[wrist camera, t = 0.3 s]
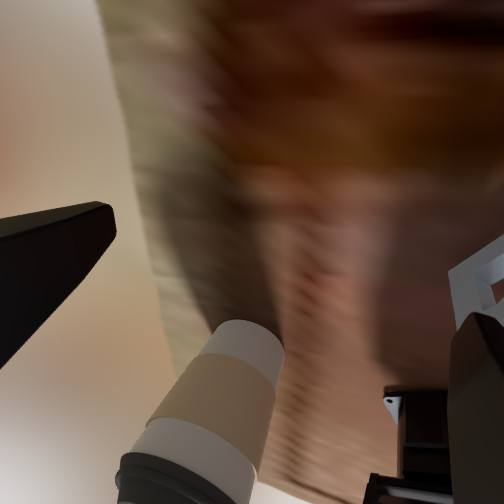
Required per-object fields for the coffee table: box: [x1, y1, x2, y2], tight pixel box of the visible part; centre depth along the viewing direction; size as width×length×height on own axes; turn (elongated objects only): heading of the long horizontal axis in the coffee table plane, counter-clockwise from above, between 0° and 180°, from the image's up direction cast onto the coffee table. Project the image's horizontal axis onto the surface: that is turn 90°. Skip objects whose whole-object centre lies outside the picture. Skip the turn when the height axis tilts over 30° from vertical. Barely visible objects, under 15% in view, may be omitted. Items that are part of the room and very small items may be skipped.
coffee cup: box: [115, 320, 285, 504], centre depth 26 cm, size 9×9×15 cm
